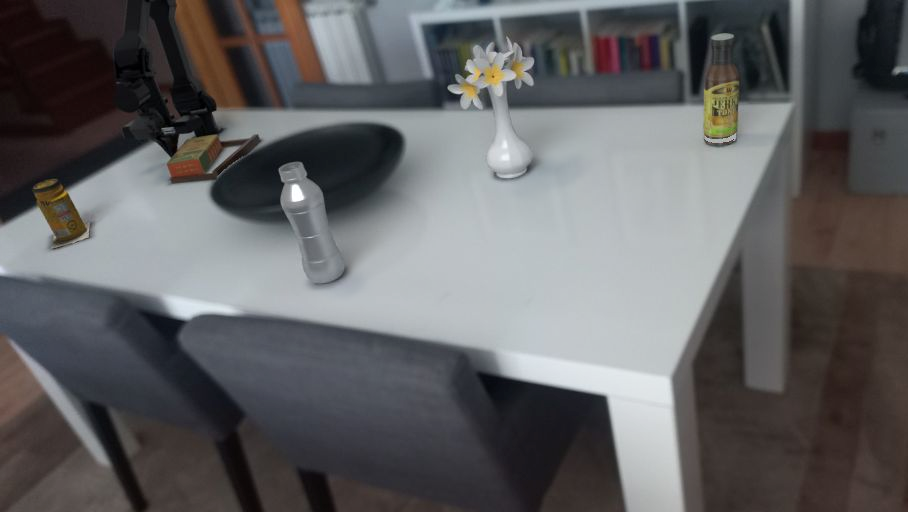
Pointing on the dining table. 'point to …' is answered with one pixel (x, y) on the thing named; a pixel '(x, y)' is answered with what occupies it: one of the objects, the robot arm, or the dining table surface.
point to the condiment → (60, 213)
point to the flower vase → (498, 104)
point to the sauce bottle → (721, 91)
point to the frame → (241, 151)
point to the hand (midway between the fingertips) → (175, 159)
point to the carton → (194, 156)
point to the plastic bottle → (310, 224)
